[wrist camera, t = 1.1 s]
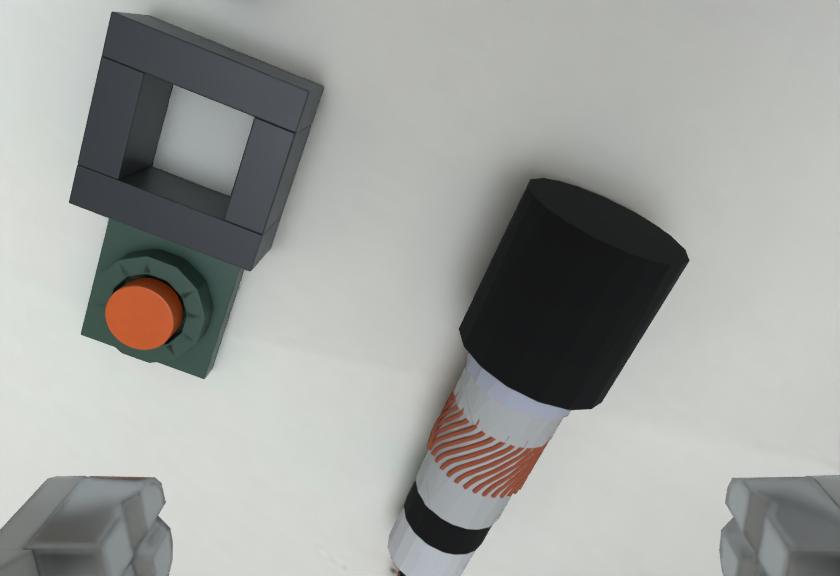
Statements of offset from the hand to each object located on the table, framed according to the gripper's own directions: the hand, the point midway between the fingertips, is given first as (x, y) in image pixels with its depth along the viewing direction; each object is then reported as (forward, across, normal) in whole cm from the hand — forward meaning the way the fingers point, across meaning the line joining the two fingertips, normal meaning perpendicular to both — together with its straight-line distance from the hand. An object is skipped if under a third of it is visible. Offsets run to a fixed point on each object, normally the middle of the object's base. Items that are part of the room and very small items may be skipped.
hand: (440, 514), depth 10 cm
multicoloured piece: (+37, -3, +19) cm, 41 cm away
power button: (+34, +20, +10) cm, 40 cm away
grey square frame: (+37, +15, -1) cm, 40 cm away
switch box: (+37, +20, +10) cm, 43 cm away
